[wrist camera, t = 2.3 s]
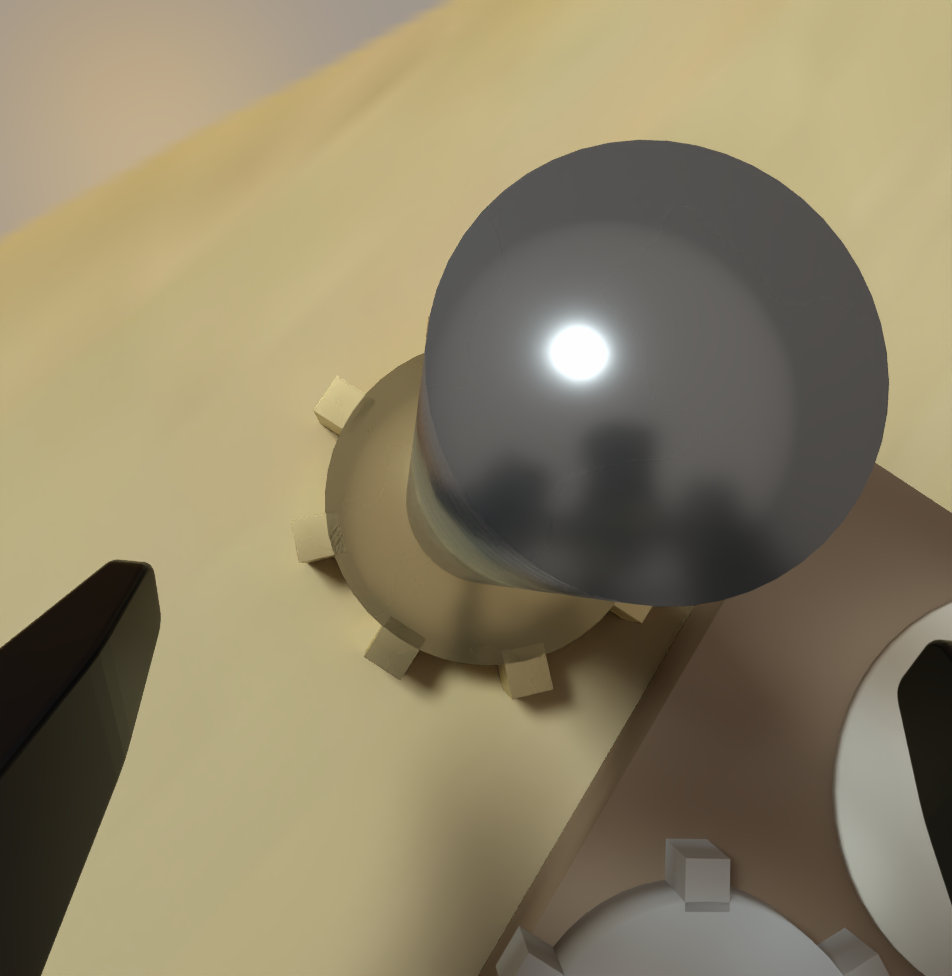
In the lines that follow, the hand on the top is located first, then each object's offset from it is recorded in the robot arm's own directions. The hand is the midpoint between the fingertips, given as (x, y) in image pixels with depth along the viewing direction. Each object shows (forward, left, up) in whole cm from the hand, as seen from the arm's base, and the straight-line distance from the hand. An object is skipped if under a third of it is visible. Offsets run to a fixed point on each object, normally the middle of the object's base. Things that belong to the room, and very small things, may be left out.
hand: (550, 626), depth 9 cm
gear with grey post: (+2, +1, -9) cm, 10 cm away
